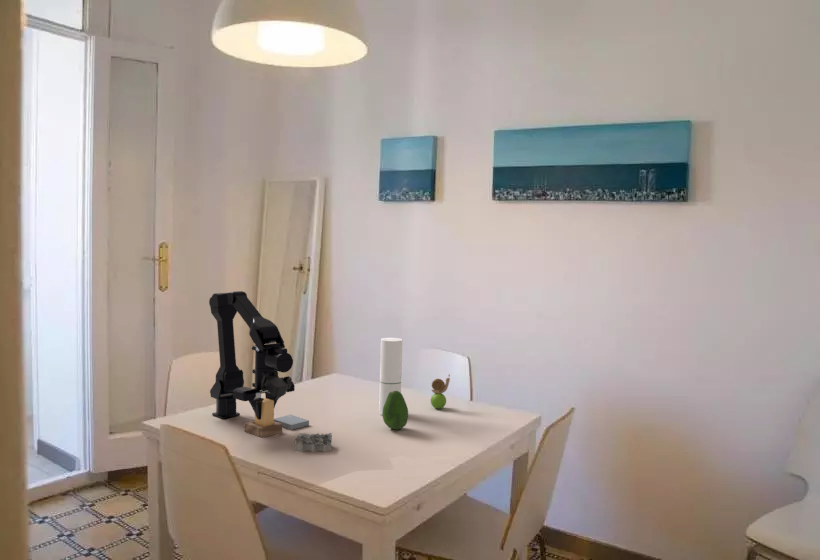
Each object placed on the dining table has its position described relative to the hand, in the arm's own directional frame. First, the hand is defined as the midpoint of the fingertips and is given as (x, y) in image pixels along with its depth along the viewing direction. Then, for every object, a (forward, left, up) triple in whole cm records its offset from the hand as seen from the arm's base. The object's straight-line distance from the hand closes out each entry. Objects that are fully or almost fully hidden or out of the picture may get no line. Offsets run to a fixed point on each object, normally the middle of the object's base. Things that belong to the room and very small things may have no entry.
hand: (264, 418), depth 200 cm
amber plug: (0, 0, -4) cm, 4 cm away
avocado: (+26, +30, -4) cm, 40 cm away
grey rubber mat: (0, +10, -4) cm, 11 cm away
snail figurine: (+21, +59, -4) cm, 63 cm away
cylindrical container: (+13, +42, -4) cm, 44 cm away
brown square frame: (0, 0, -4) cm, 4 cm away
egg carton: (+21, +1, -4) cm, 22 cm away
